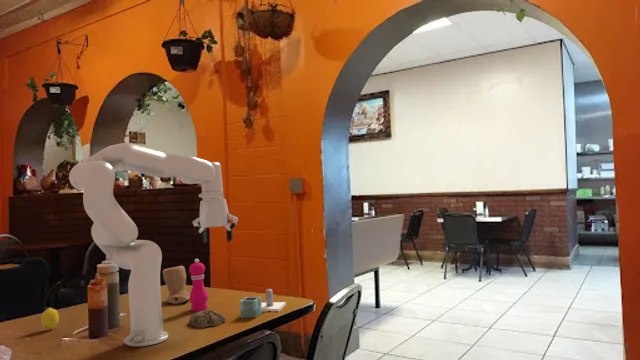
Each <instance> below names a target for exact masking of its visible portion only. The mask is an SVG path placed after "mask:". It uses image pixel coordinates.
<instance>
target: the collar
mask: <svg viewBox="0 0 640 360" xmlns="http://www.w3.org/2000/svg"><path fill="white" fill-rule="evenodd" d="M261 303H262V296H246V297H244V298H243V299H240V300H239V305H240V318H242V319H243V318H244V319H247V318H250V319H252V318H258V317H260V316H261V315H262V313H263V312H262V304H261Z"/></svg>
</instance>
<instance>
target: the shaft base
mask: <svg viewBox="0 0 640 360" xmlns="http://www.w3.org/2000/svg"><path fill="white" fill-rule="evenodd" d="M261 304H262V313H263V312H264V313H265V312H268V311H271V312H280V311H281V310H282V309H283V308H284V307H286V305H287V302H286V301H278V302H277V301H276V302H274V293H273V289H271V288H268V289H265V302H261Z"/></svg>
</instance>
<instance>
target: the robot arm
mask: <svg viewBox="0 0 640 360" xmlns="http://www.w3.org/2000/svg"><path fill="white" fill-rule="evenodd" d="M120 171H129V172H133V173H137V174H141V175H142V174H144V175H147V176H151V177H156V178H178V179H179V180H180V181H181V182H182V183H184V184H186V185H187V184H188V185H194V184H201V193H199V194H198V197H199V198H201V199H202V200H200V201H199V202H200V204H199V217H197V218H195V219H194V220H192V222H191V223H192V225H193V226H194V229H195V230H197V231H198V233H199V234H200V241H201V244H206V243H207V242H208V237H207V232H206V230H207V228H219V227H224V228H225V229H226V240H227V242H229V243H230V242H232V241H233V229H235V227H236V226H237V223H238V221H239V218H238V217H237V216H234V215H232V214H231V213H229V212H230V211H229V207H228V203H227V200H226V198H224V186H223V176H222V175H223V174H222V166H221V163H220V162H218V161H212V162H210V161H208V160H205V159H202V158H198V157H194V156H189V155H184V154H176V153H171V152H164V151H159V150H156V149H152V148H148V147H144V146H141V145H138V144H134V143H129V142H122V143H116V144H113V145H108V146H107V147H105V148H103V149H101V150H99V151H97V152H96V153H94V154H92V155H91V156H88V157H87V158H85V159H84V160H82V161H80V162H79V163H76V164H75V165H74V166H73V167H72V168H71V170H70V172H69V174H68V179H69V182H70V184H71V186H72V187H73V188H74V189H76V190H78V191H83V193H82V194H83V196H82V197H83V198H82V199H83V200H82V201H83V207H84V211H85V213H86V215H88V217H89V218H90V219H91V221H92V222H93V224H92V226H91V231H90V233H91V237H92V240H93V242H95V244H96V245H97V247H99V249H100V250H101V251H102V252H103V253H104V254H105V255H106V257H107V258H108V259H109V260H110V261H111V262H112V263H113V264H115V265H116V267H119V268H121V269H124V270H130V274H129V278H128V285H127V286H128V288H127V289H128V305H129V321H130V323H129V324H130V330H129V335H127V336H126V337H124V338H123V343H124V344H125V345H127V346H130V347H147V346H154V345H156V344H159V343H163V342H164V341H166V340H167V339H168V338H169V332H167V331H165V330H164V328H163V327H164V326H163V310H162V289H161V268H162V267H161V266H162V260H163V255H162V254H163V253H162V250H161V248H160V246H159V244H157V243H155V242H154V241H152V240H148V239H146V240H145V239H137V238H138V236H139V231H138V230H139V228H138V227H137V225H136V224H135V222H134V221H133V220H132V218H131V217H130V216H129V215H128V214H127V212H126V211H125V210H124V209H123V208H122V207H121V206H120V204H119V203H118V201H117V200H116V198H115V196H114V184H115V180H116V173H117V172H120ZM230 220H232V223H230Z"/></svg>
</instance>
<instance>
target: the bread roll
mask: <svg viewBox="0 0 640 360" xmlns="http://www.w3.org/2000/svg"><path fill="white" fill-rule="evenodd" d="M226 322H227V321H226V318H225V317H224V316H223V314H222V313H221V312H219V311H217V310H216V311H215V310H212V309H206V310H203V311H196V313H194V314H191V316H190V317H189V319H188V323H189V325H190V326H191V327H193V328H197V329H204V328H207V327H219V326H221V325H223V324H225V323H226Z"/></svg>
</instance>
